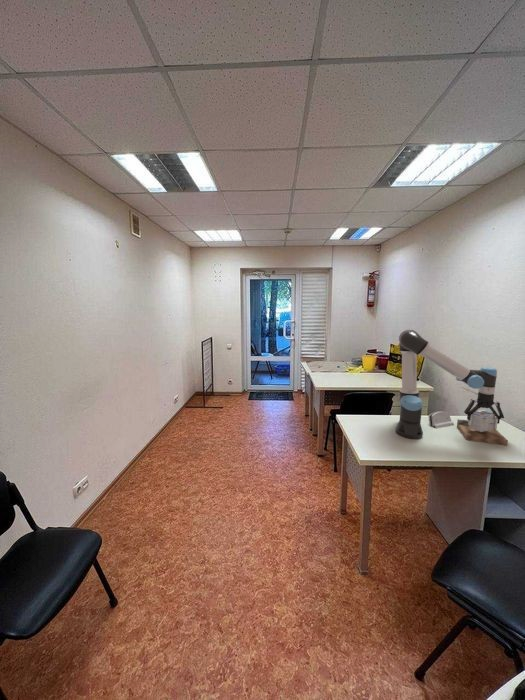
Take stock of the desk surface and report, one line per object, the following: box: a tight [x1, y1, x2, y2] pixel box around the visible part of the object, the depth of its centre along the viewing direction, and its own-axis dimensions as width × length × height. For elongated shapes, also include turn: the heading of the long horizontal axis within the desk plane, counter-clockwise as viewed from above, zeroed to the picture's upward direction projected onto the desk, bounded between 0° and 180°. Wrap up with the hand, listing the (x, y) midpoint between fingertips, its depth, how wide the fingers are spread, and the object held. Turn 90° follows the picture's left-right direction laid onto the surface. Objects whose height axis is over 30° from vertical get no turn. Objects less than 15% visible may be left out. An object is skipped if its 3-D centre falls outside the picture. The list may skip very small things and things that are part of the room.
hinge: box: [427, 411, 455, 429], centre depth 185 cm, size 17×5×10 cm, turn 108°
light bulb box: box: [471, 409, 496, 432], centre depth 166 cm, size 11×7×11 cm, turn 106°
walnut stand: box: [456, 418, 509, 446], centre depth 168 cm, size 20×18×6 cm
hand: (482, 426), depth 167 cm, fingers closed on light bulb box, 12 cm apart
